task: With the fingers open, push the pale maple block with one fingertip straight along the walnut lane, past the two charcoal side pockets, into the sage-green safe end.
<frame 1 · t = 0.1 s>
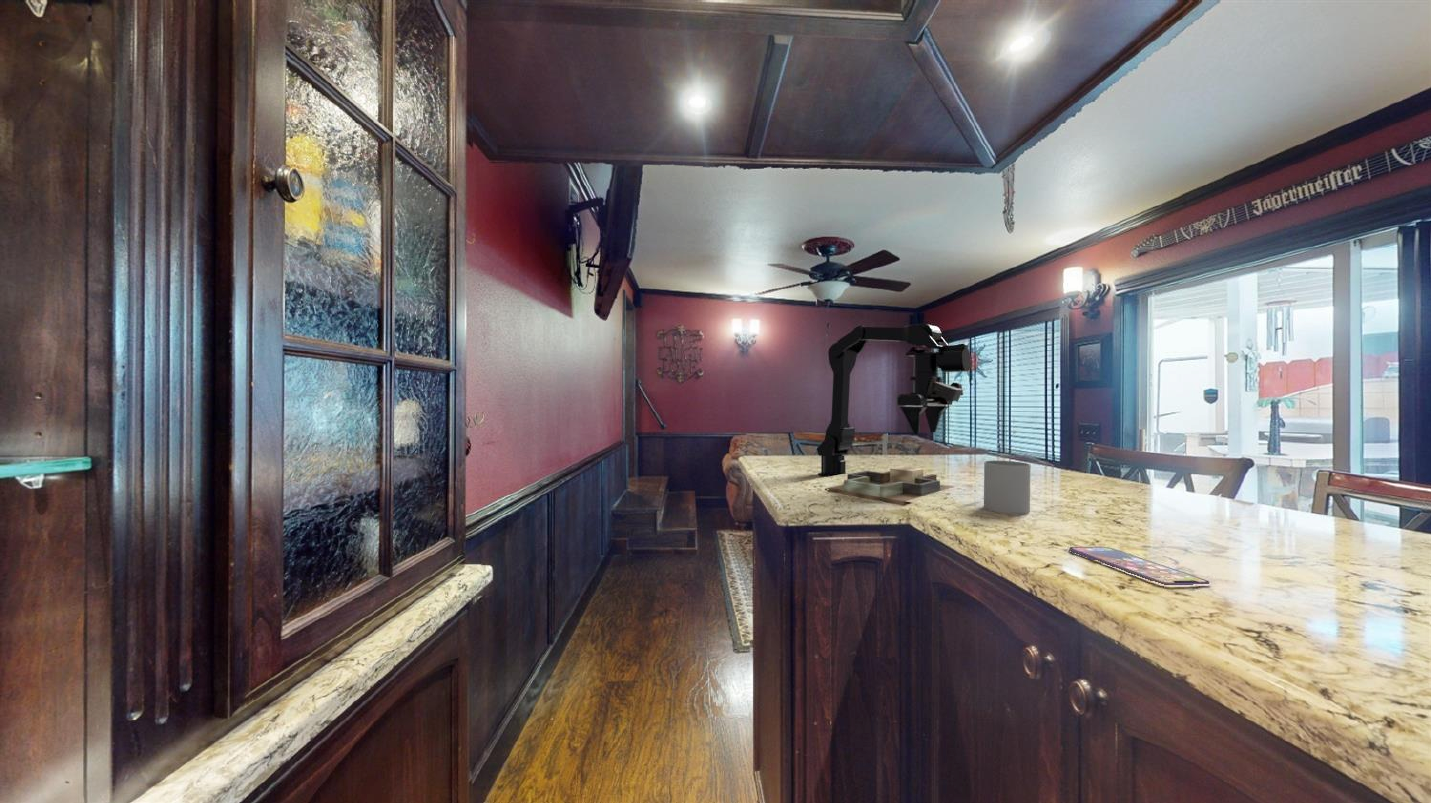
hand: (924, 433, 124), 15 cm above the countertop, tool pointing down, fingers open, 9 cm apart
smartphone: (1132, 570, 69), on the countertop
cup: (1006, 510, 102), on the countertop
trap lane: (891, 491, 122), on the countertop
maple block: (906, 483, 127), point 1 cm above the countertop, touching trap lane
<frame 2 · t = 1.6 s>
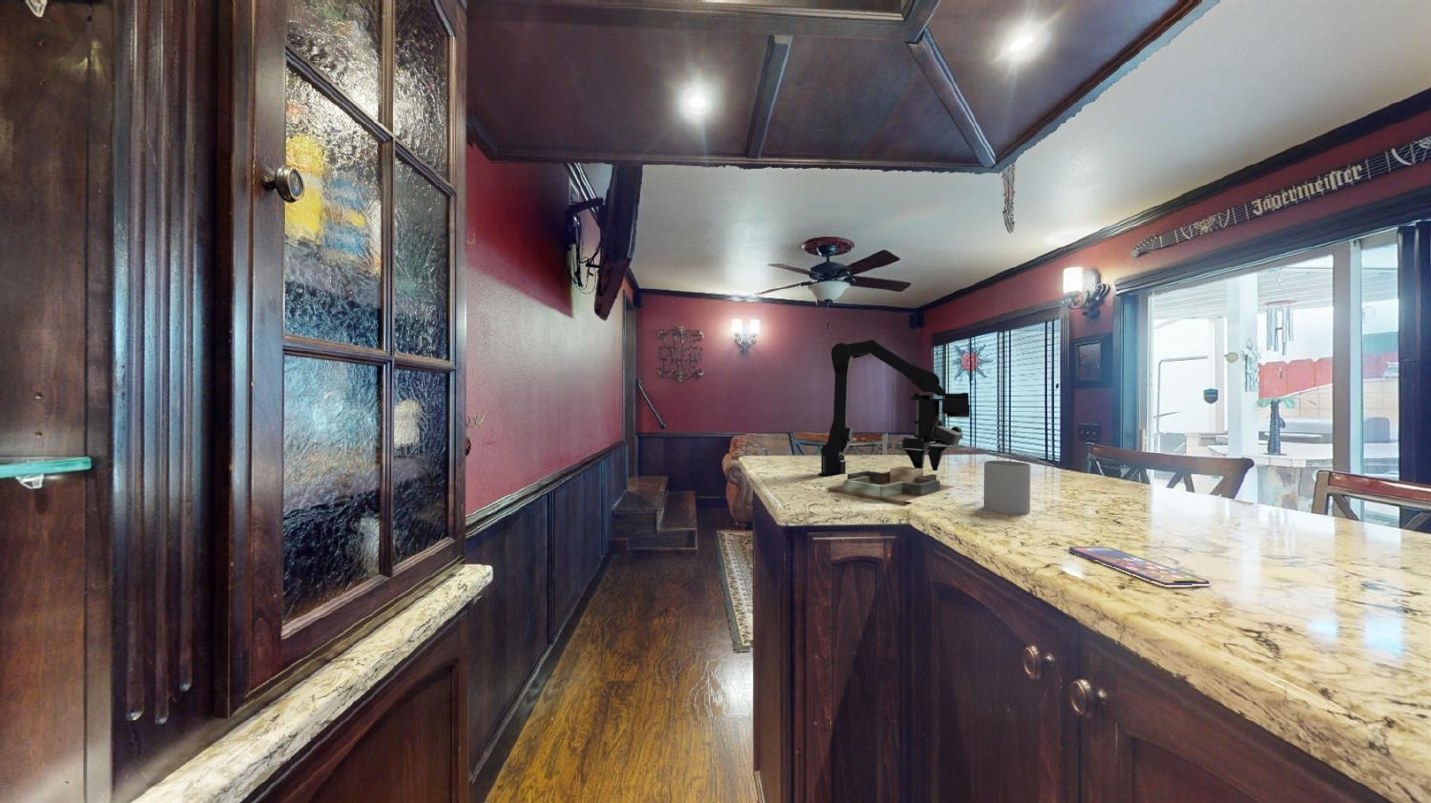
hand: (927, 472, 135), 3 cm above the countertop, tool pointing down, fingers open, 9 cm apart
nothing on the countertop moved.
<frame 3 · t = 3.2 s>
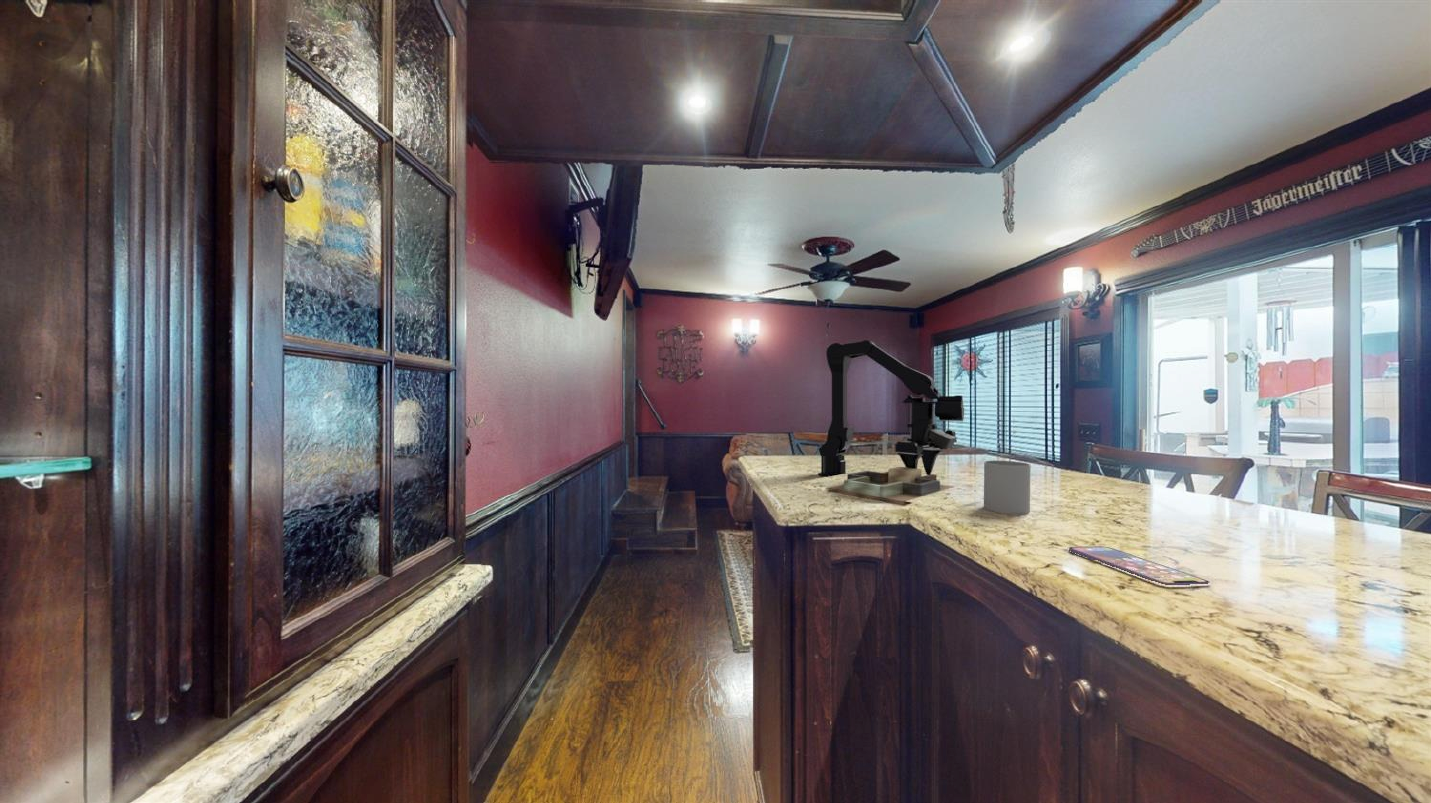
hand: (921, 476, 132), 2 cm above the countertop, tool pointing down, fingers open, 9 cm apart
maple block: (904, 484, 126), point 1 cm above the countertop, touching gripper, trap lane
everything else where it was.
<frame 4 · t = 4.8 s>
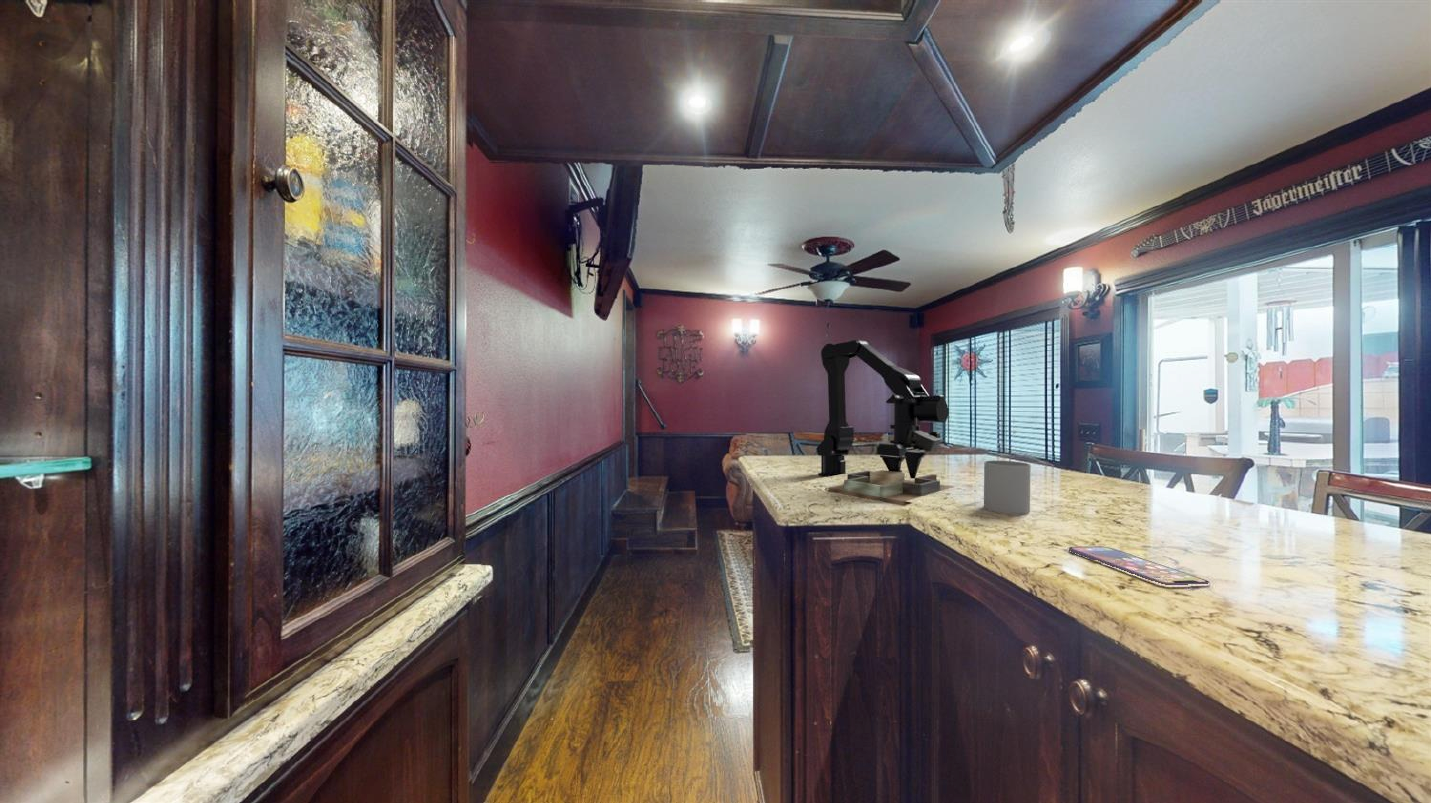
hand: (904, 480, 126), 2 cm above the countertop, tool pointing down, fingers open, 8 cm apart
maple block: (887, 488, 120), point 1 cm above the countertop, touching gripper
everything else where it was.
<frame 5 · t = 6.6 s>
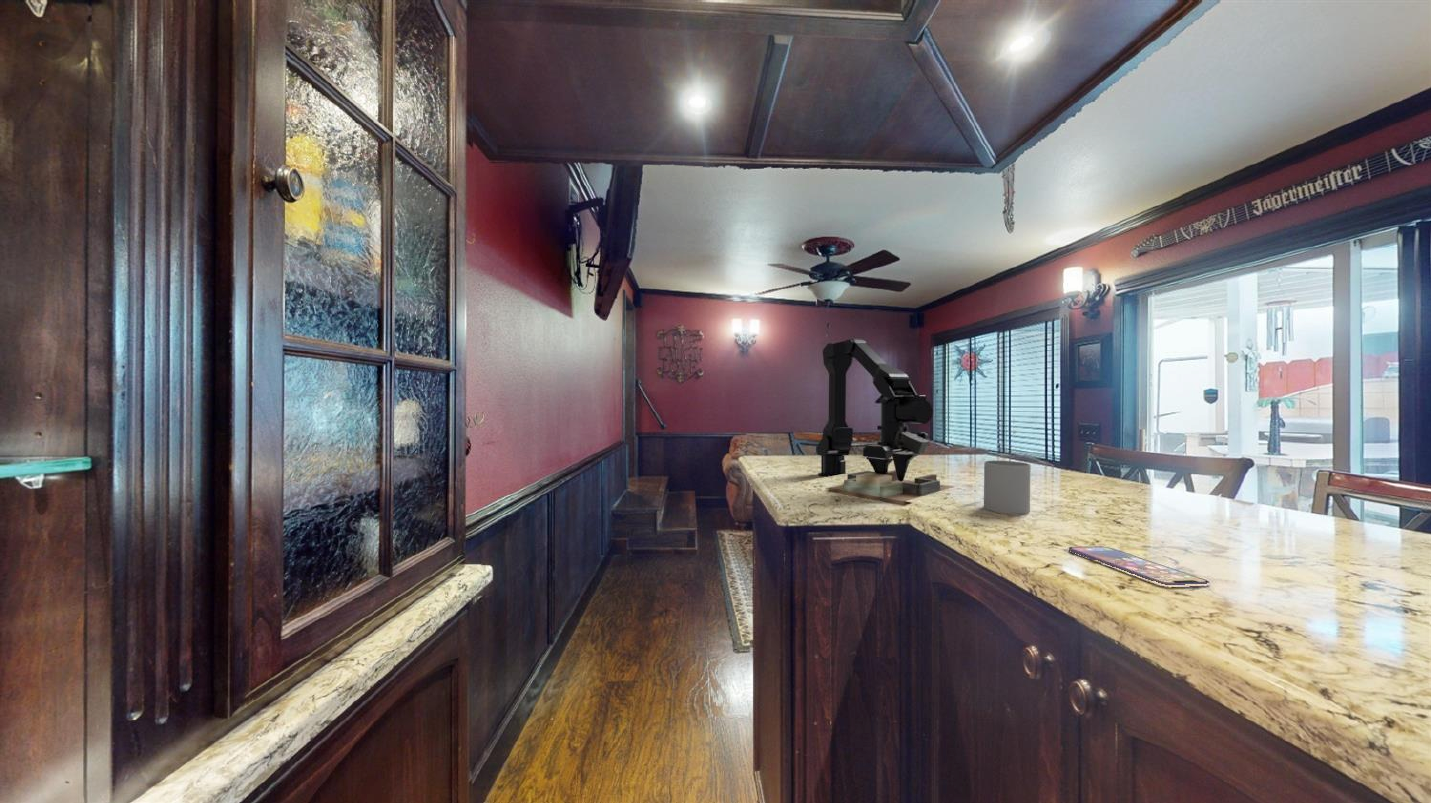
hand: (892, 483, 122), 2 cm above the countertop, tool pointing down, fingers open, 8 cm apart
maple block: (873, 491, 116), point 1 cm above the countertop, touching gripper, trap lane
everything else where it was.
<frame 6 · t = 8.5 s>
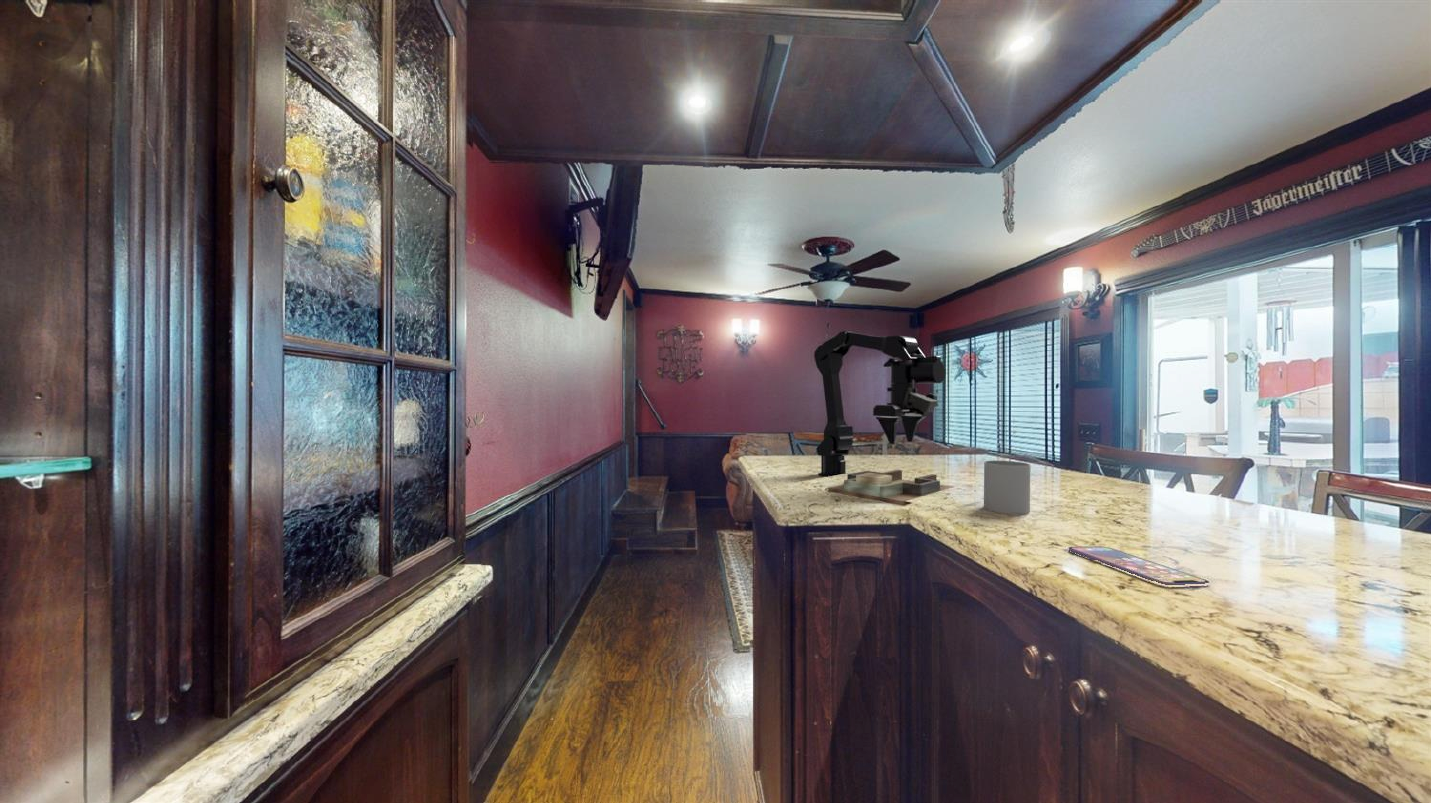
hand: (901, 442, 127), 12 cm above the countertop, tool pointing down, fingers open, 9 cm apart
maple block: (873, 491, 116), point 1 cm above the countertop, touching trap lane
everything else where it was.
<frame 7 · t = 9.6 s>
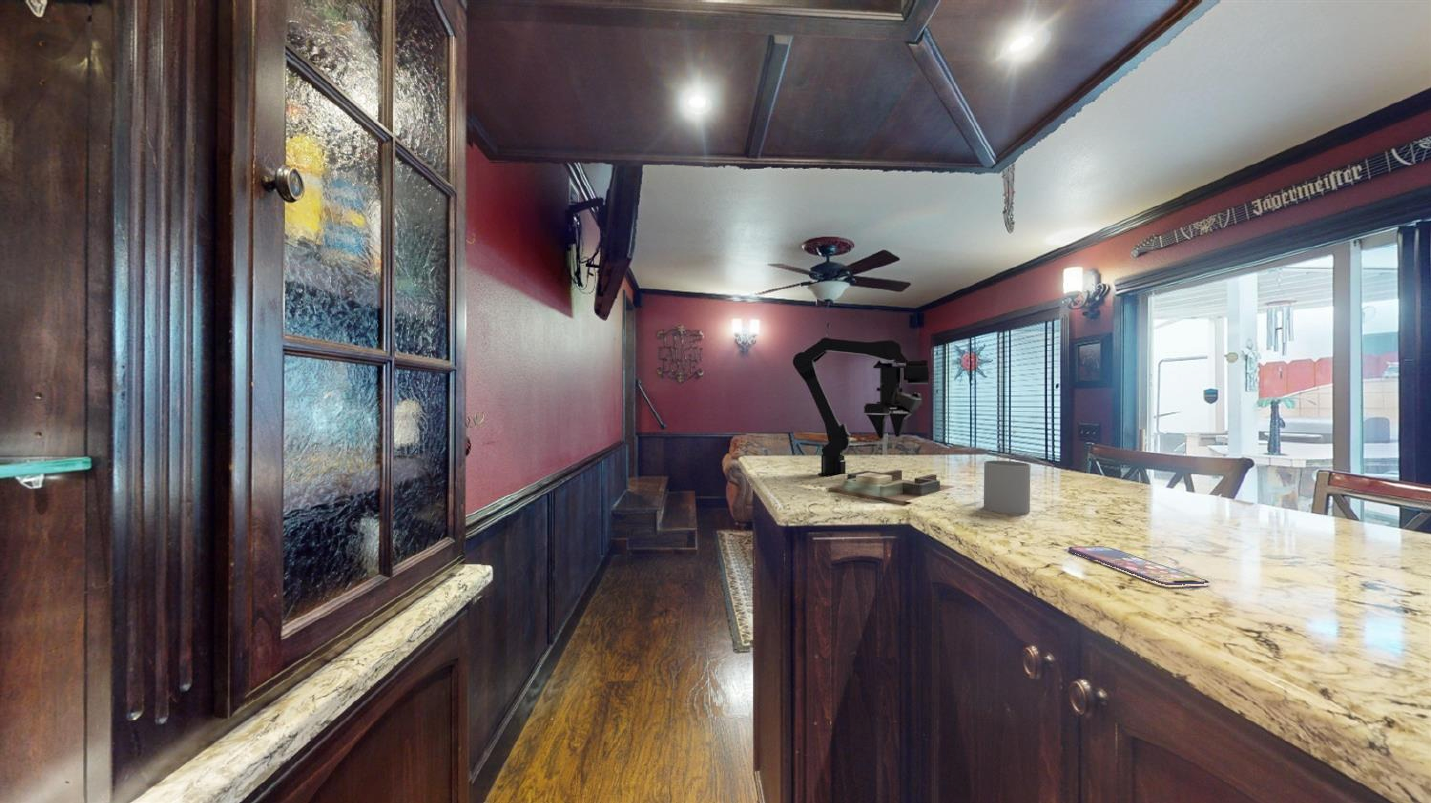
hand: (889, 437, 140), 12 cm above the countertop, tool pointing down, fingers open, 9 cm apart
nothing on the countertop moved.
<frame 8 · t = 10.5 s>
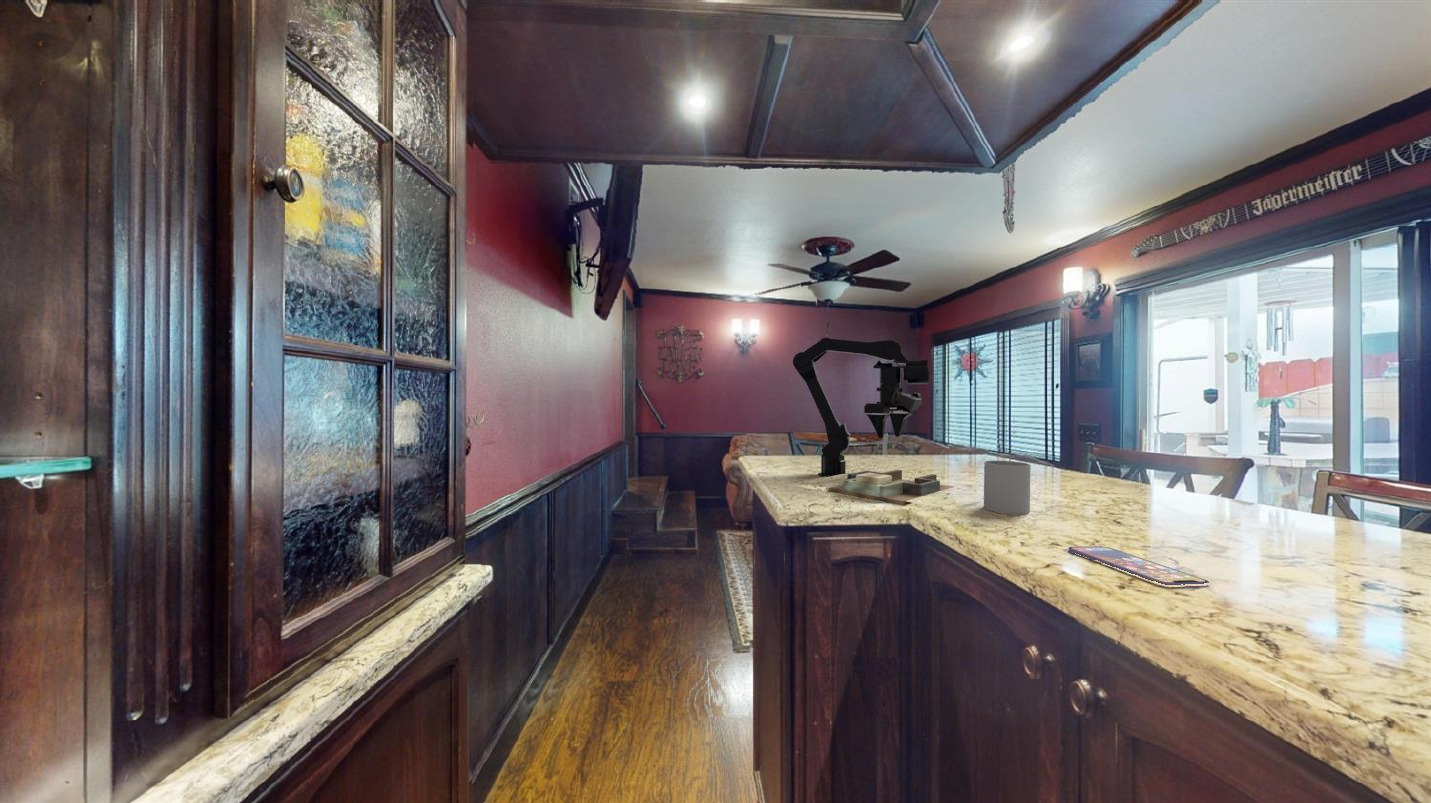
hand: (889, 437, 140), 12 cm above the countertop, tool pointing down, fingers open, 9 cm apart
nothing on the countertop moved.
at the end: maple block 0.4 cm from the target spot on the trap lane, point 1.0 cm above the trap lane's base; maple block tilted 0° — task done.
